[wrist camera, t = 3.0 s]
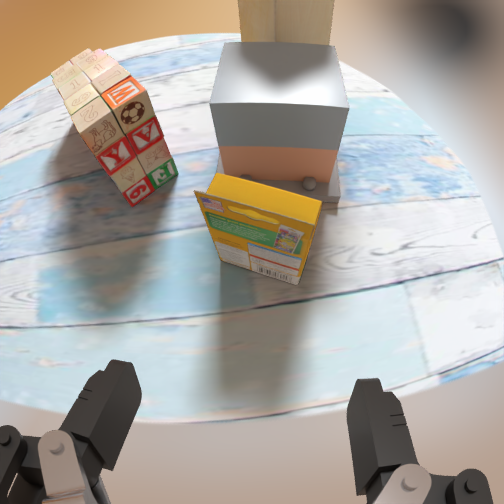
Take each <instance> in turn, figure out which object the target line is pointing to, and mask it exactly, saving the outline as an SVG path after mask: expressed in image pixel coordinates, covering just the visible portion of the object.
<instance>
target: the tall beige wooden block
mask: <svg viewBox="0 0 504 504" xmlns="http://www.w3.org/2000/svg"><path fill="white" fill-rule="evenodd" d="M238 7H239V17H240V30H241V41H242V42H289V43H307V44H320V45H329V41H330V33H331V25H332V16H333V7H334V0H238Z"/></svg>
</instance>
